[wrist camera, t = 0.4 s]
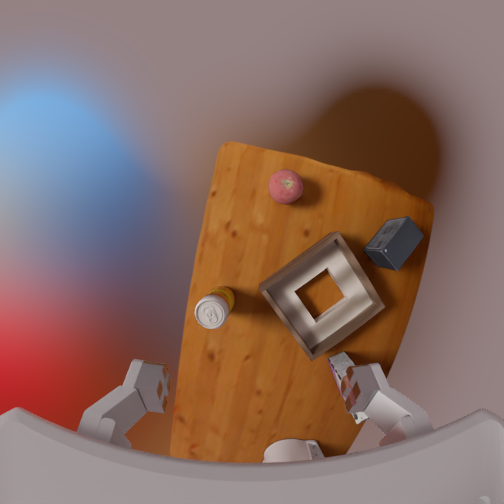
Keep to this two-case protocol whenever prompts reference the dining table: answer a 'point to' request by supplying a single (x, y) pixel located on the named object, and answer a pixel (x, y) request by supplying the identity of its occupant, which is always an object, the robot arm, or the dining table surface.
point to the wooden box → (335, 318)
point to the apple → (285, 186)
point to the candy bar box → (339, 368)
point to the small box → (394, 243)
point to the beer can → (215, 307)
